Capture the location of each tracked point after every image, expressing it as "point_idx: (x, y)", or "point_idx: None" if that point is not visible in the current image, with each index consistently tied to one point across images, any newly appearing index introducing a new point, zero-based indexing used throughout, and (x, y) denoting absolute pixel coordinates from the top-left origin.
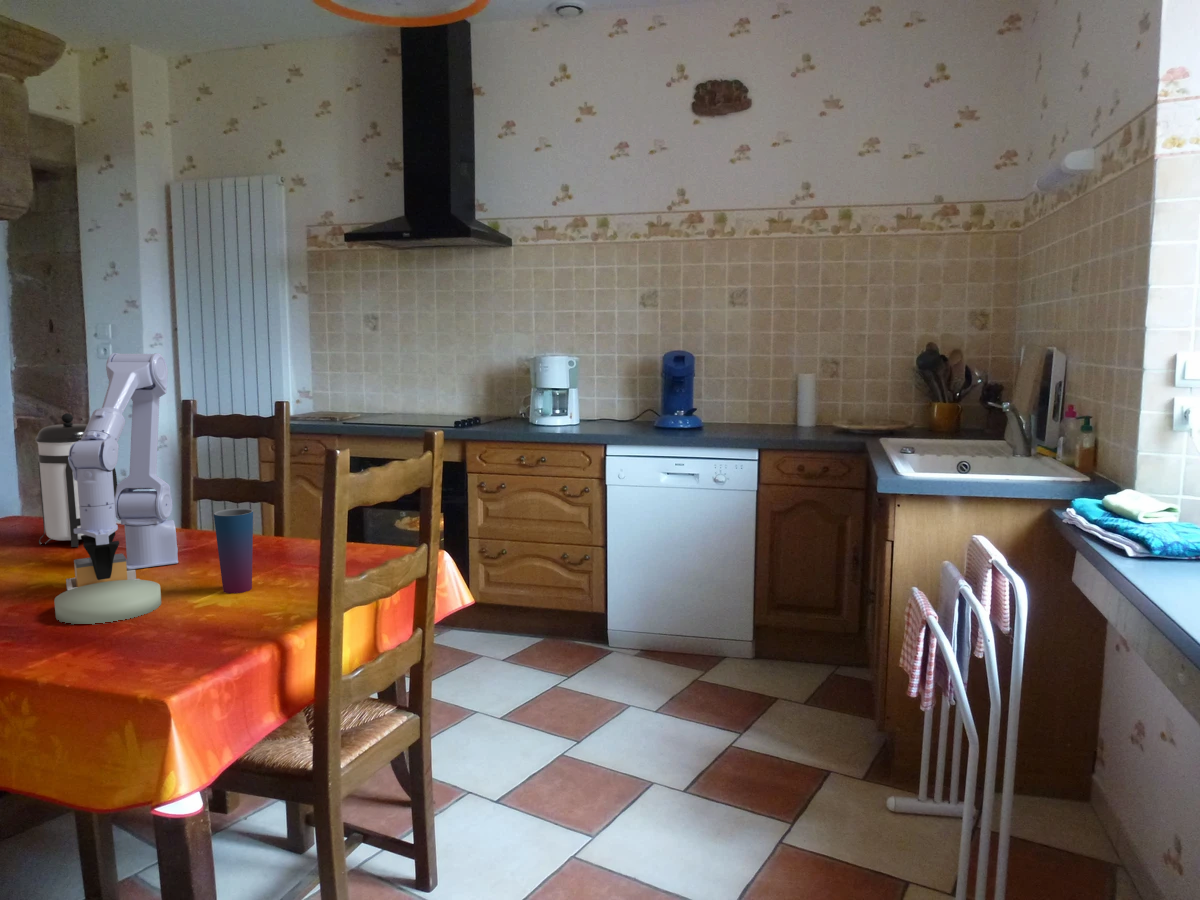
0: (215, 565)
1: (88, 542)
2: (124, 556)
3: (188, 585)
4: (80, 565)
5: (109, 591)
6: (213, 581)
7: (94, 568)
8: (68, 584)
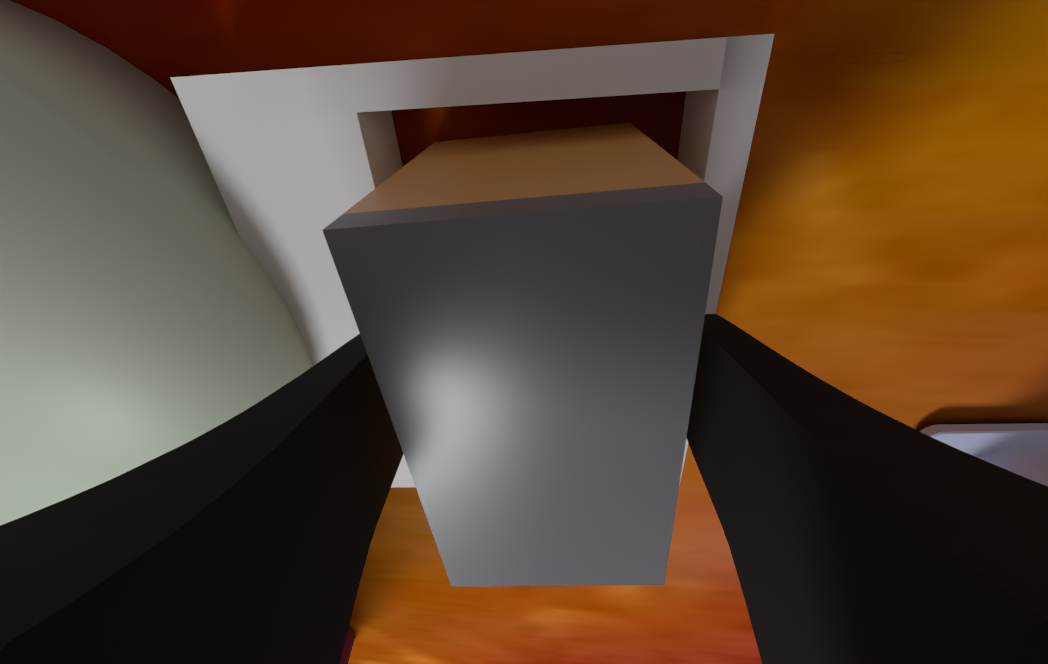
0: (682, 634)
1: (904, 588)
2: (522, 585)
3: (428, 560)
4: (348, 273)
5: (4, 377)
6: (448, 607)
7: (301, 377)
8: (504, 69)
